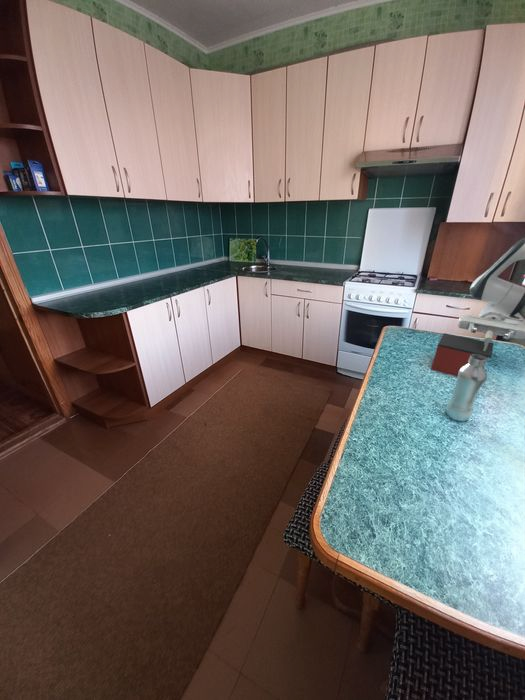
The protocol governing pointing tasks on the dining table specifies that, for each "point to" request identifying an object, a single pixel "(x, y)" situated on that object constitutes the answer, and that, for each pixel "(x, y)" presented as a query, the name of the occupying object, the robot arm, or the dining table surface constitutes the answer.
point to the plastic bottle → (467, 388)
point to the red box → (450, 360)
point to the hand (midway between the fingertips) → (489, 333)
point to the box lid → (468, 344)
